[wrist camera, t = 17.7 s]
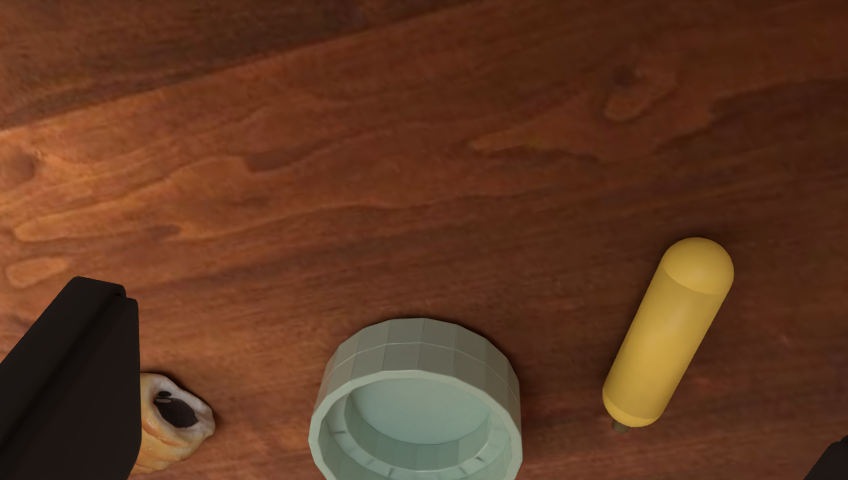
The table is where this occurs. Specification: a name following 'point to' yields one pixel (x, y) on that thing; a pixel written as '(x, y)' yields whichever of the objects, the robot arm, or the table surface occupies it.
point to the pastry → (169, 424)
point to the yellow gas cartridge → (667, 331)
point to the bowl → (417, 406)
